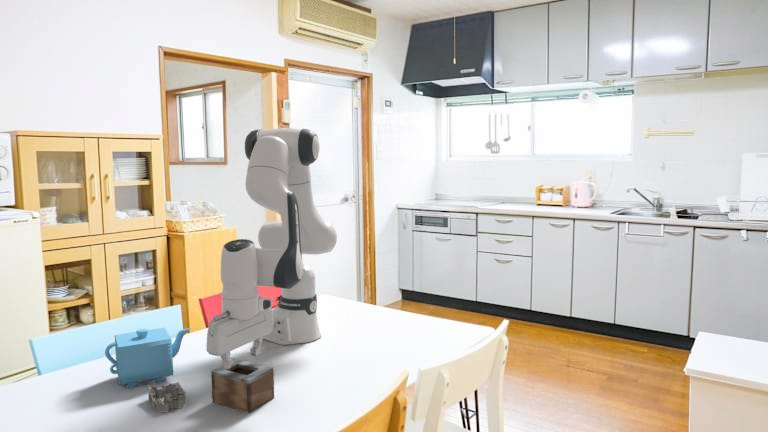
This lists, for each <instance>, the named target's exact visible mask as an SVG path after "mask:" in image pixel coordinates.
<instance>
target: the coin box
mask: <svg viewBox="0 0 768 432" xmlns="http://www.w3.org/2000/svg"><path fill="white" fill-rule="evenodd" d="M233 362H234V363H233V365H234V366H233V367H232V368H230V369H226V368H224V364H223V365H221V366H219V367H217V368H215V369H212V370H211V373H210V374H211V375H210V376H211V396H212V400H211V401H212V402H211V403H215V404H217V405H220V406H225V407H227V408H231V409H235V410H239V411H242V412H245V413H249V414H250V413H253V412H254V411H255V410H257V409H258V408H260V407H261V406H264V405H265V404H267V403H268V402H271V401H272V400H273V399H275V377H274V376H275V375H274V372H275V371H274V366H273V367H272V366H268V365H264V364H260V363H256V362H251V361H246V360H243V359H239V358H237V359H234V360H233Z"/></svg>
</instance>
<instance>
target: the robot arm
mask: <svg viewBox="0 0 768 432" xmlns="http://www.w3.org/2000/svg"><path fill="white" fill-rule="evenodd" d="M319 152H320V142H319V138H318V135H317V134H316V132H315V131H313V130H312V129H307V128H301V129H300V128H292V127H291V128H290V127H280V128H269V129H262V128H260V129H255V130H251V131H250V132H249V133H248V134H247V135H246V137H245V139H244V153H245V157H246V159H248V164H247V170H246V176H245V190H246V193H247V195H248V196H249V198H250V199H251V200H252V201H253V202H254V203H256V204H257V205H259V206H260V207H262V208H265V209H268V210H270V211H272V212H275V213H277V214H278V215H280V219H281V220H274V221H269V222H266V223H264V224H263V225H262V226H260V229H259V231H258V234H257V241H258V244H259V247H261V248H259V247H256V244H255V242H254V241H252V240H251V239H247V238H245V239H243V238H241V239H234V240H230V241H228V242H226V243H225V244H223V247H222V250H221V255H220V256H221V257H220V258H221V259H220V281H221V283H222V289H221V290H222V292H221V296H220V297H221V313H220V314H217V315H214V316H213V317H212V319H210V321H209V322H208V328H207V333H206V335H207V336H206V352H207V353H208V354H209V355H211V356H215V357H220V359H221V360H222V362H223V365H224V368H226V369H230V368H232V367H233V366H234V365H233V363H234V362H233V361H234V360H233V359H231V357H230V355H231V351H232V352H233V350H236V349H238V348H240V347H243V346H245V345H247V344H250V343H251V342H253V344H252V347H250V349H249V350H250V355H251V356H253V357H256V356H258V355H260V348H261V346H262V342H263V340H266V341H269V342H271V343H275V344H278V345H281V346H285V345H287V346H288V345H291V344H305V343H310V342H313V341H317V340H318V339H320V337H321V336H322V334H321V331H320V327H319V321H318V315H317V309H318V306H317V305H318V296H317V293H316V273H315V271H314V270H313V269H312V267H311V266H309V265H308V264H305V263H303V256H302V255H314V256H315V255H323V254H329V253H331V252H332V251H333V250H334V248H335V246H336V244H337V241H338V234H337V232H336V231H337V230H336V229H335V227H334V226H333V224H331V223H330V222H329V221H327V220H326V219H325V218H324V217H323V216H322V215H321V214H320V213H319V211H318V209H317V208H316V205H315V202H314V198H313V197H314V196H313V191H312V190H313V188H312V179H311V178H312V176H311V170H310V169H311V168H310V165H312V164H314V163H315V161H317V160H318V157H319ZM258 287H269V288H270V287H272V288H273V287H274V288H280V289H281V294H280V295H279V296H276V297H275V298H274V300H273V299H271V298H268V297H263V296H260V295H259V294H260V292H259V289H258ZM273 301H274V302H278V303H277V305H276V306H275V307H274V308H273V304H274V302H273ZM272 308H273V309H272Z"/></svg>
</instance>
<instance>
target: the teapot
mask: <svg viewBox="0 0 768 432" xmlns="http://www.w3.org/2000/svg"><path fill="white" fill-rule="evenodd" d="M191 329H192V327H189V328H188V327H187V328H183V329H181V330H179V331H178V332H177V334H176V337H175V338H174V339H175V340H174V341H173V340H172V338H171V336H170V334H169V331H167V328H166V327H159V328H154V329H153V328H152V329H149V328H140V329H137V330H136V331H133V332H127V333H121V334H114V341H113V342H110V343H109V344H108V345H107V347H106V348H105V350H104V354H105V357H106V359H107V360H108V361H110V363H111V366H110V367H109V371H110V373H111V374H113V375H117V378H118V382H119V383H118V384H119V386H125V385H127V386H126V387H127V388H128V389H133V388H134V387H135V388H137V387H139V383H140V382H144V381H145V382H146V381H148V380H149V381H150V380H153V382H154V383H157V384H160V383H164V382H165V381H166V378H165V377H170V376H174V361H173V359H174V358H175V357H176V356H177V355H178V353H179V351H180V348H181V344H182V342H183V341H182V340H183V338H184V336H185V334H186V333H188V332H189V331H191ZM114 347H115V348H114ZM112 348H114V349H115V359H114V357H112V355H111V354H110V350H111V349H112ZM114 368H116V369H114Z"/></svg>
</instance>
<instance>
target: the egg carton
mask: <svg viewBox="0 0 768 432" xmlns="http://www.w3.org/2000/svg"><path fill="white" fill-rule="evenodd" d="M146 387H147V389H148V390H149V392H148V394H147V396H148V402H149V403H151V404H152V406H153V407H154V408H156V412H158V413H159V412H162V413H167V412H170V410H171V409H174V408H175V409H182V408H183V406H185V405H186V404H187V400H186V399H187V398H186V397H187V396H186V394H187V392H186V391H185V390H184V387H182V385H181V384H180V382H178V381H175V382H173V383H168V384H166V385H165V384H162V385H161V387H160V388H158V387H157V385H150V384H147V385H146ZM160 398H161V399H160Z"/></svg>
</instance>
